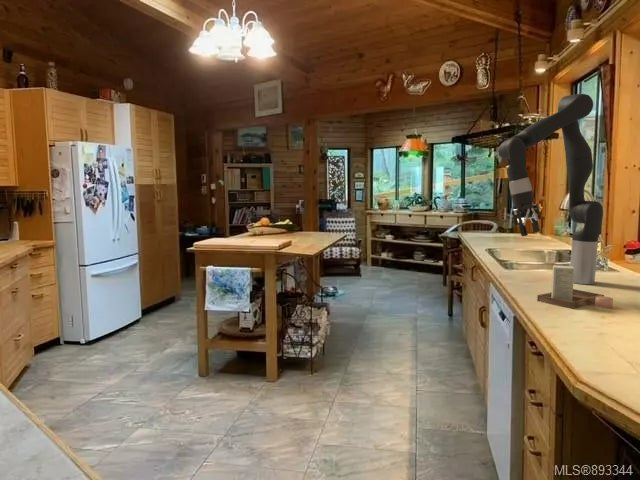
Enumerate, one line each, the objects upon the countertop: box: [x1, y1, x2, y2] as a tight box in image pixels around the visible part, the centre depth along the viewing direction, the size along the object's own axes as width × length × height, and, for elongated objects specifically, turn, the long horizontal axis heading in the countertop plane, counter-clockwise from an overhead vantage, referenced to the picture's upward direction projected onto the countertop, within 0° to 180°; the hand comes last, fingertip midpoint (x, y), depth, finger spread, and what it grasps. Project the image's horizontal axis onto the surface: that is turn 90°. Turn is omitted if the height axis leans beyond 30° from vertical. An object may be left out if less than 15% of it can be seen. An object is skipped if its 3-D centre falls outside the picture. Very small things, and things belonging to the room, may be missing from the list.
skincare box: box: [551, 264, 574, 302], centre depth 167 cm, size 6×4×12 cm
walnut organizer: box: [536, 288, 605, 310], centre depth 171 cm, size 21×12×2 cm, turn 125°
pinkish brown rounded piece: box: [594, 295, 614, 309], centre depth 164 cm, size 5×5×3 cm
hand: (531, 233), depth 186 cm, fingers open, 8 cm apart
